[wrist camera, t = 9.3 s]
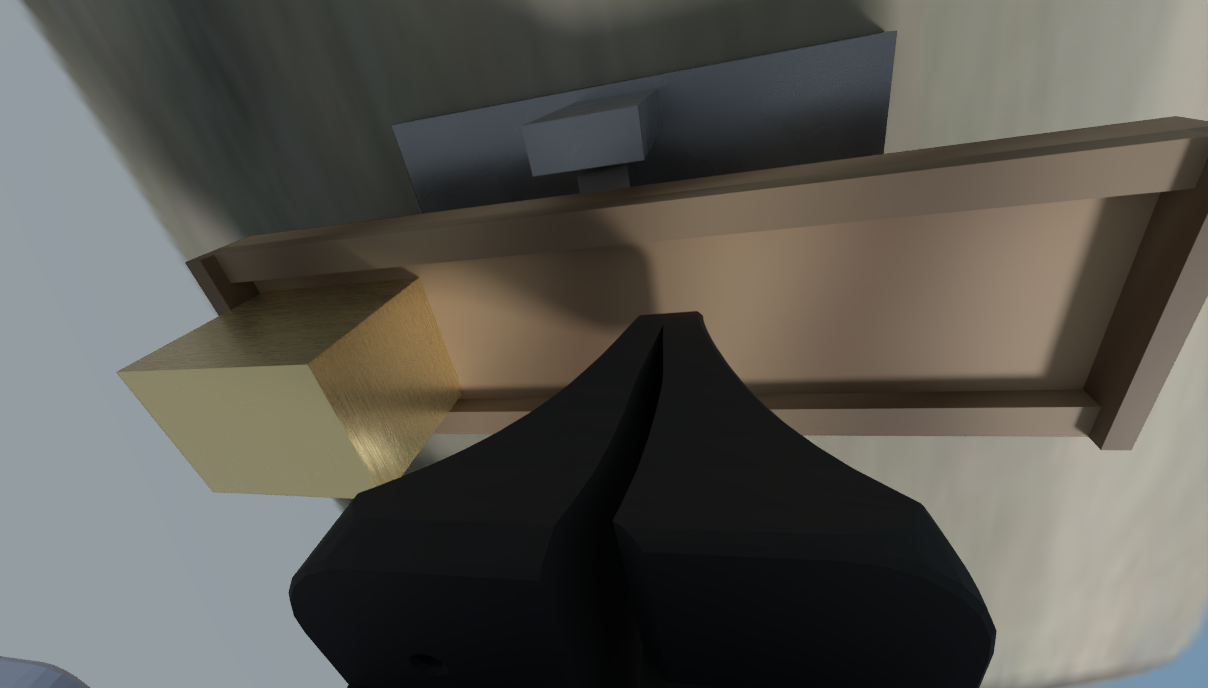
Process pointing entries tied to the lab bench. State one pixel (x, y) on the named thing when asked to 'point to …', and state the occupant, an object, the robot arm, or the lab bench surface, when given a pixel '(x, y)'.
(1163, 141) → the beam
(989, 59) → the lab bench surface
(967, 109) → the lab bench surface
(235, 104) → the lab bench surface
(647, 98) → the pivot stand
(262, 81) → the lab bench surface
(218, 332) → the block
